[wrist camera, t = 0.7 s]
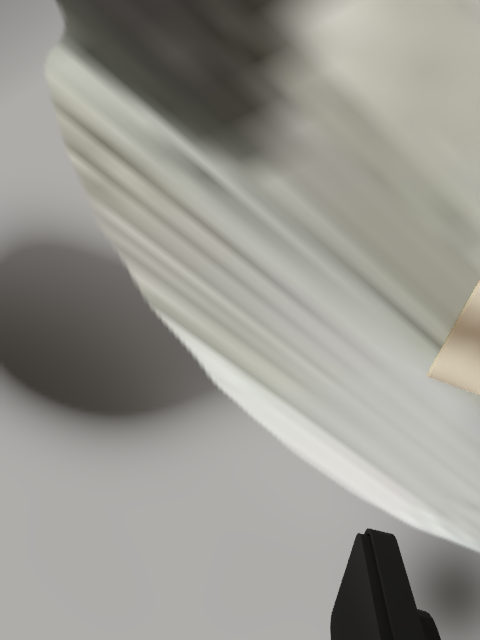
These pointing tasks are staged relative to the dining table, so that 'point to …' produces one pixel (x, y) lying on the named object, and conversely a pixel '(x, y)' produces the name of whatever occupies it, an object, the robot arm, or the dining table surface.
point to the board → (462, 350)
